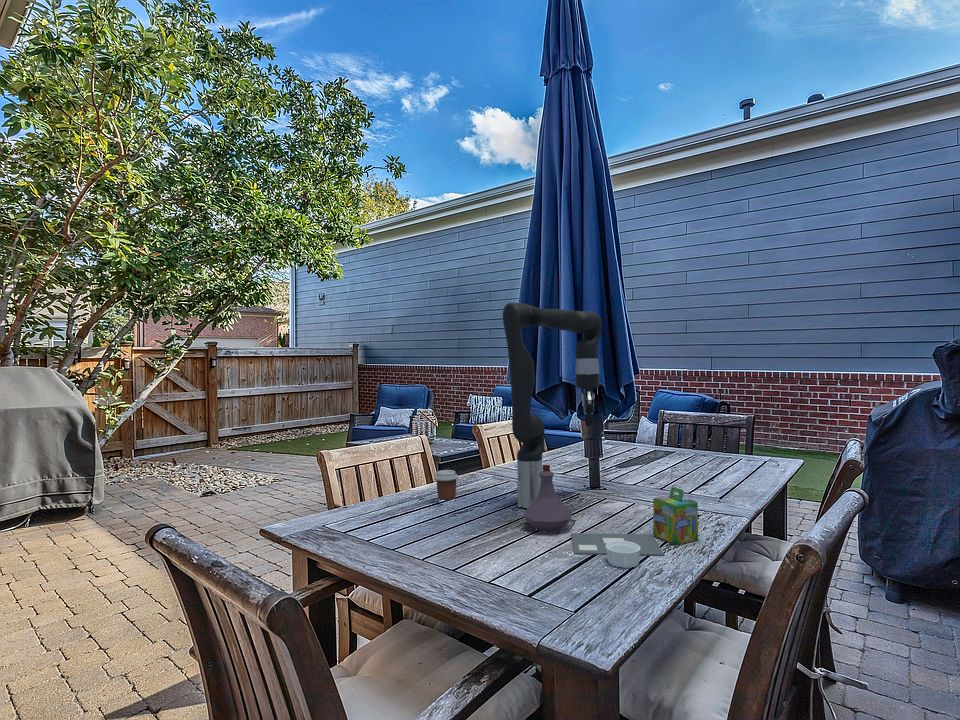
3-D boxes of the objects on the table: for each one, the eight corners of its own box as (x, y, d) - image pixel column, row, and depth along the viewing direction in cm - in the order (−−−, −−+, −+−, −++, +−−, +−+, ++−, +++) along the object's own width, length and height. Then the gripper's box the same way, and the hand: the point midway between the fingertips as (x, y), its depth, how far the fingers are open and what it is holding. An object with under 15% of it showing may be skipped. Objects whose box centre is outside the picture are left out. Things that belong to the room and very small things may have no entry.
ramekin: (634, 572, 127) (633, 555, 127) (600, 564, 132) (600, 548, 132) (645, 560, 134) (645, 544, 134) (613, 554, 139) (612, 538, 139)
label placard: (574, 554, 140) (574, 552, 140) (571, 534, 155) (571, 533, 155) (664, 555, 137) (664, 554, 137) (651, 535, 153) (651, 534, 153)
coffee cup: (430, 503, 194) (429, 472, 194) (448, 498, 200) (448, 468, 200) (444, 508, 187) (444, 475, 187) (463, 503, 193) (462, 471, 193)
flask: (529, 538, 153) (527, 472, 153) (517, 521, 169) (515, 461, 169) (581, 534, 155) (579, 469, 156) (564, 518, 172) (562, 459, 172)
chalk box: (652, 536, 152) (651, 487, 152) (676, 531, 156) (674, 483, 156) (675, 546, 144) (674, 494, 144) (699, 541, 147) (698, 490, 147)
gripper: (574, 372, 172) (575, 423, 172) (577, 373, 159) (578, 428, 159) (596, 372, 171) (598, 423, 171) (601, 372, 158) (602, 428, 158)
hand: (588, 425), depth 165 cm, fingers closed
